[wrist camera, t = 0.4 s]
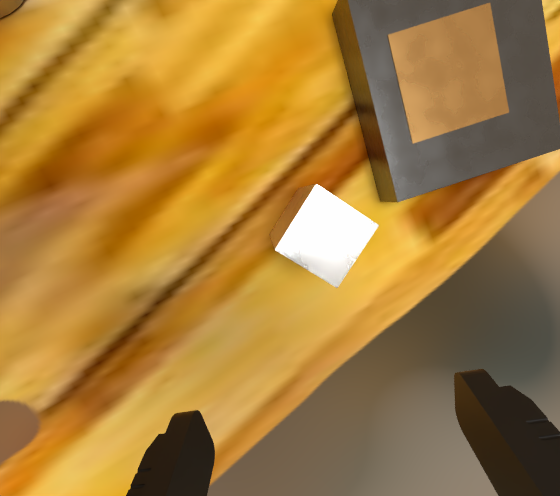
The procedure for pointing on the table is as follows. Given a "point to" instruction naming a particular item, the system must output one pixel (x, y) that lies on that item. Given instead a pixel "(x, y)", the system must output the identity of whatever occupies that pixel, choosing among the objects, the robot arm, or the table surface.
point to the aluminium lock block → (321, 233)
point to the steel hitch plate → (447, 88)
